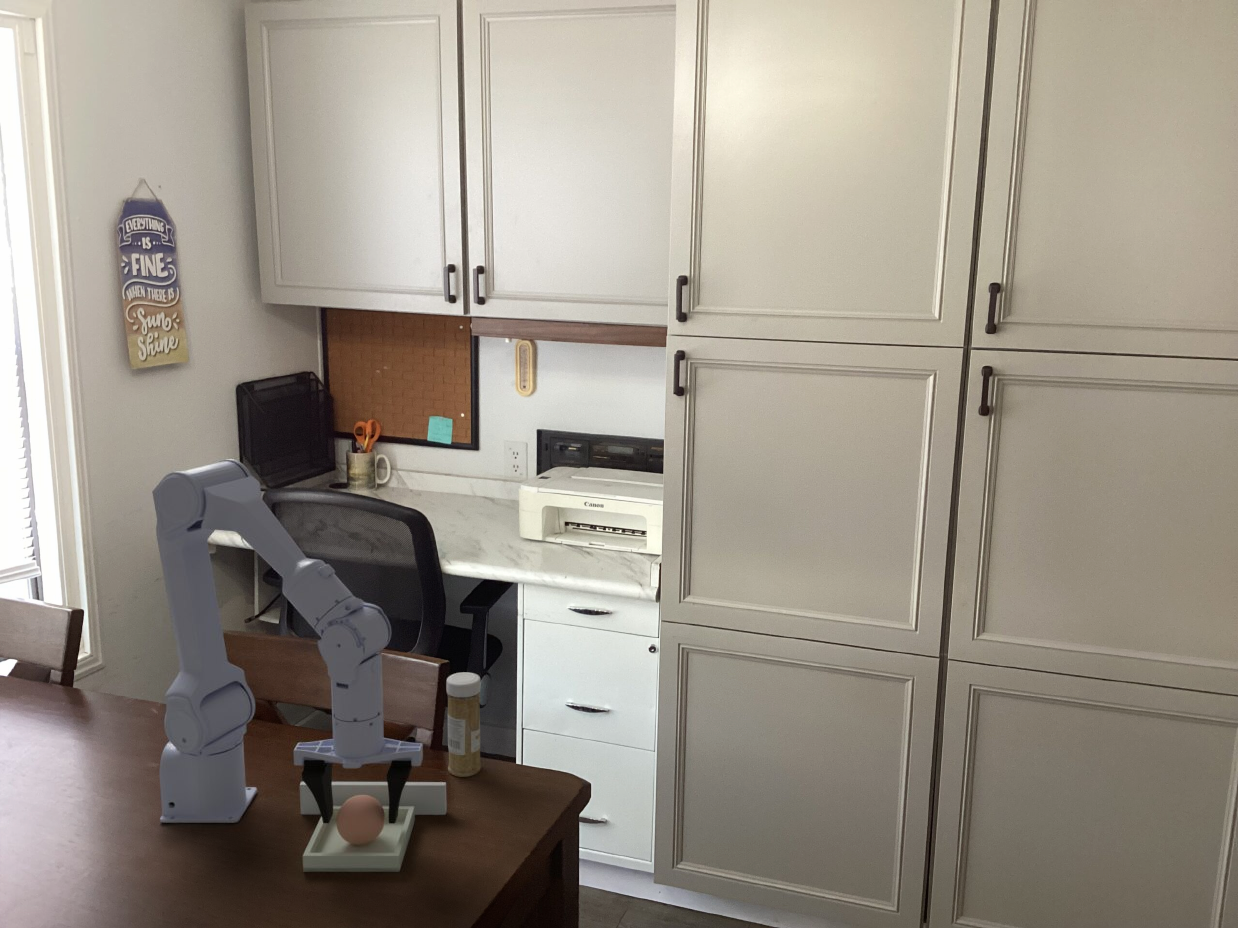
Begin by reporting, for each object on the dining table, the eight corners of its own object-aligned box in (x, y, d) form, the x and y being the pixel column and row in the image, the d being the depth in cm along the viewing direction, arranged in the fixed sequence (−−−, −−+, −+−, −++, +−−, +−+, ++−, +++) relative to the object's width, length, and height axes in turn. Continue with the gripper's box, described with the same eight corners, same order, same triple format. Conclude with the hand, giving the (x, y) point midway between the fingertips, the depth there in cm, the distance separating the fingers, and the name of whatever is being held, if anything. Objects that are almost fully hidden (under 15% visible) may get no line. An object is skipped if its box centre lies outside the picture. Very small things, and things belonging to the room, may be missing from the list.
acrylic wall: (300, 814, 128) (299, 784, 127) (302, 810, 129) (301, 781, 128) (445, 814, 129) (445, 785, 128) (446, 811, 129) (446, 782, 129)
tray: (303, 871, 116) (302, 855, 116) (326, 820, 127) (326, 805, 126) (399, 871, 116) (398, 855, 116) (414, 820, 127) (414, 806, 127)
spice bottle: (486, 772, 139) (486, 679, 137) (455, 781, 137) (455, 686, 134) (472, 758, 143) (471, 668, 141) (441, 767, 141) (440, 674, 138)
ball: (331, 854, 119) (330, 810, 118) (343, 828, 124) (341, 785, 123) (380, 854, 119) (379, 810, 118) (389, 828, 124) (388, 785, 123)
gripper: (284, 726, 114) (289, 837, 117) (415, 726, 115) (417, 837, 117) (301, 699, 121) (305, 805, 124) (424, 700, 121) (426, 805, 124)
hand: (360, 818), depth 121 cm, fingers open, 7 cm apart
